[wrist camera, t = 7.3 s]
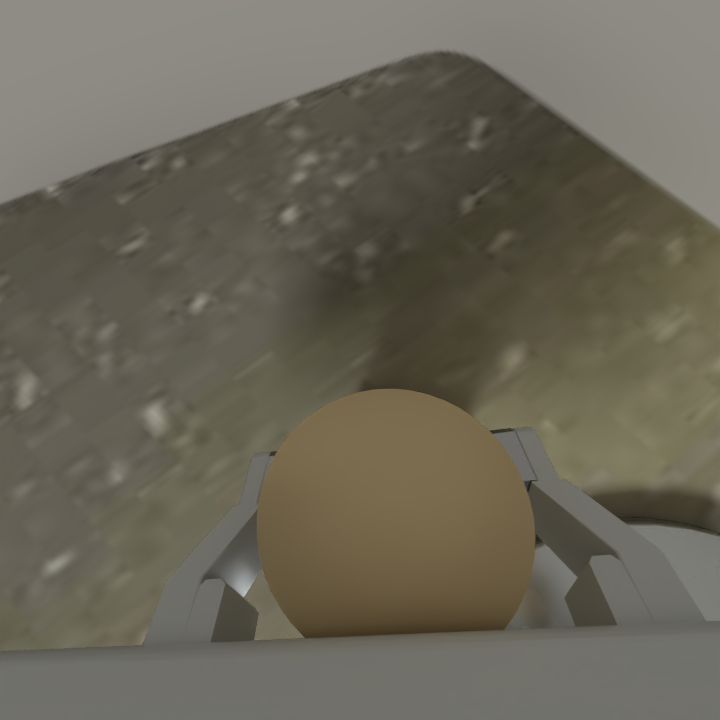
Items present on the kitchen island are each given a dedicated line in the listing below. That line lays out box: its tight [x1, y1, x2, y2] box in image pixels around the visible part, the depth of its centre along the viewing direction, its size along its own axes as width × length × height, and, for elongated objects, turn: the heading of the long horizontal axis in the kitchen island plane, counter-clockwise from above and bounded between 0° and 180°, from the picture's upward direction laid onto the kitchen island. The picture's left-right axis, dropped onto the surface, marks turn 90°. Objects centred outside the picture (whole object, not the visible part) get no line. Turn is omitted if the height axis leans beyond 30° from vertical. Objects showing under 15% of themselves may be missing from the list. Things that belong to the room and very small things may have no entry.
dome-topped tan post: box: [257, 389, 535, 638], centre depth 11 cm, size 5×5×9 cm
